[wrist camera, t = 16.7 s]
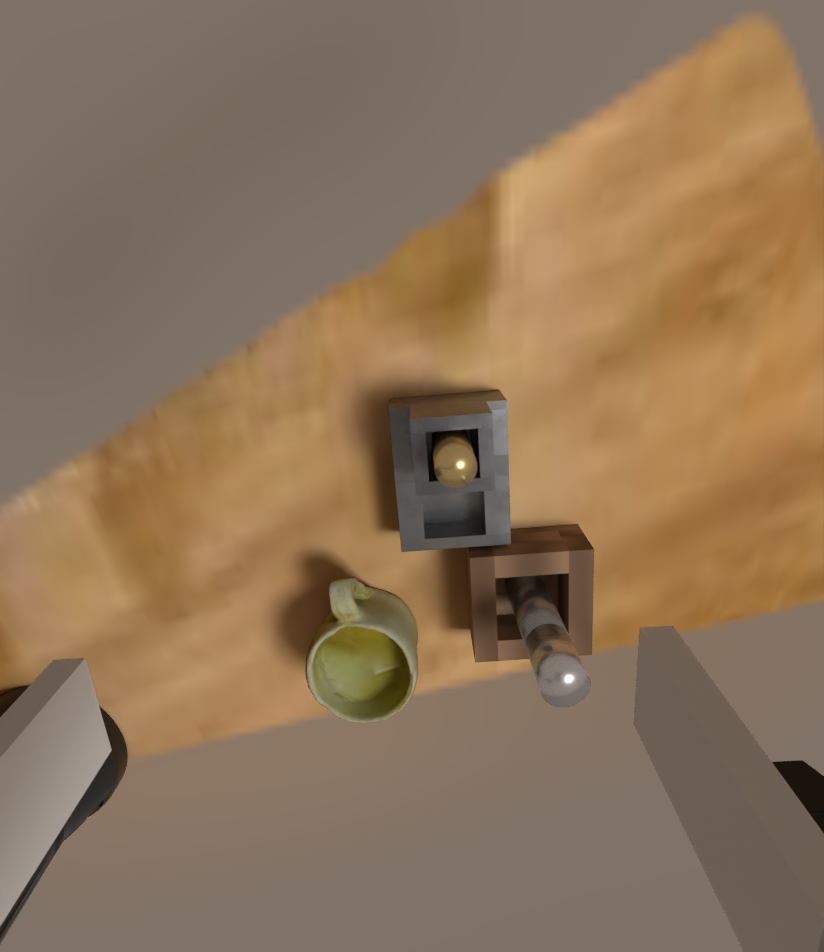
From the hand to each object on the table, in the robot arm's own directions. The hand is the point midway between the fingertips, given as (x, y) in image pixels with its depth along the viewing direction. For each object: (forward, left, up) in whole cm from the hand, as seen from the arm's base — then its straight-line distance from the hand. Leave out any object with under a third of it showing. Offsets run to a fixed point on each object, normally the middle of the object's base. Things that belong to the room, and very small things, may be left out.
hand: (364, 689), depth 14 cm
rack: (+10, -18, -37) cm, 42 cm away
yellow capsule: (+4, -3, -32) cm, 32 cm away
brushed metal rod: (+10, -18, -36) cm, 41 cm away
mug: (-5, -20, -37) cm, 42 cm away
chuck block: (+4, -6, -37) cm, 37 cm away
